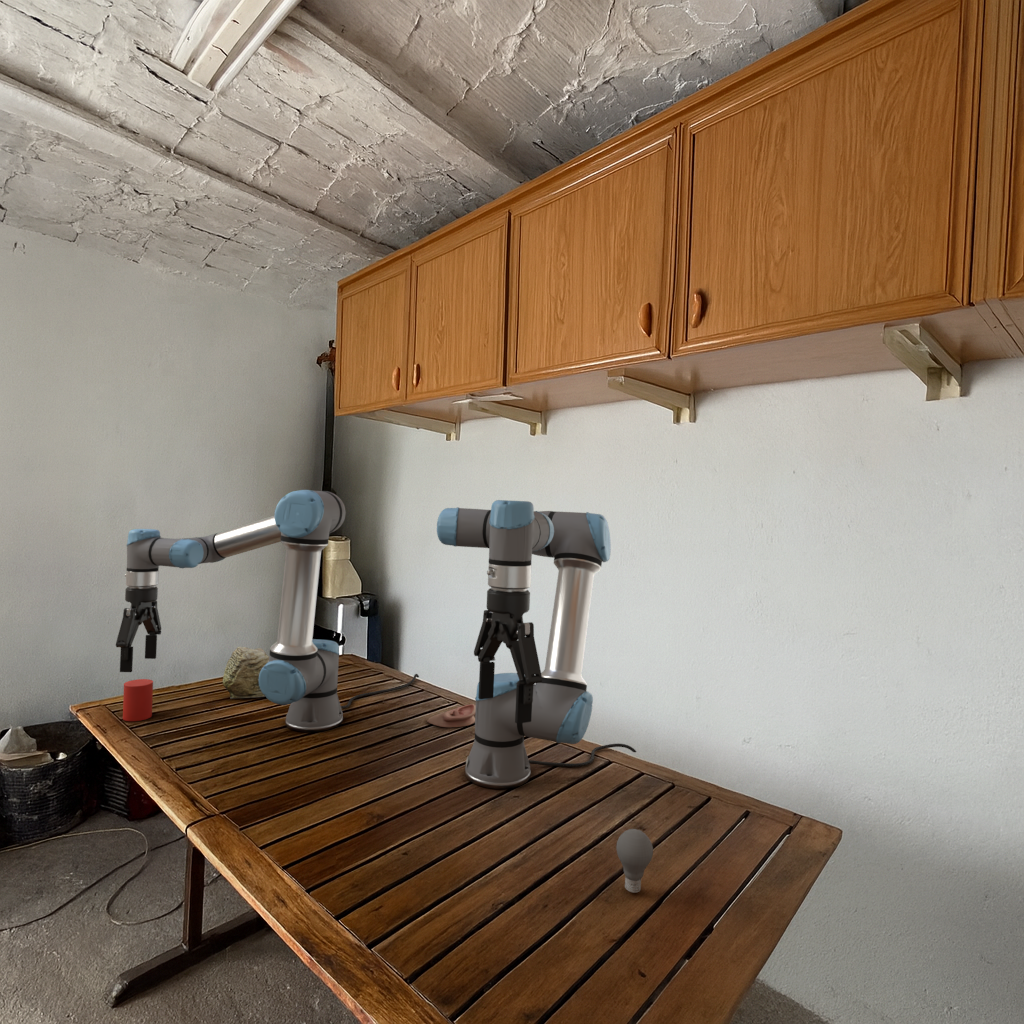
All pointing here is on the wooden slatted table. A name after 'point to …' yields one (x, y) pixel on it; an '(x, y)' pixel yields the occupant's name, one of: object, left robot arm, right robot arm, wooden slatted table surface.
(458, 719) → the anatomical model
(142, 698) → the cylinder
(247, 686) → the fossil
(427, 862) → the wooden slatted table surface
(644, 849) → the light bulb
